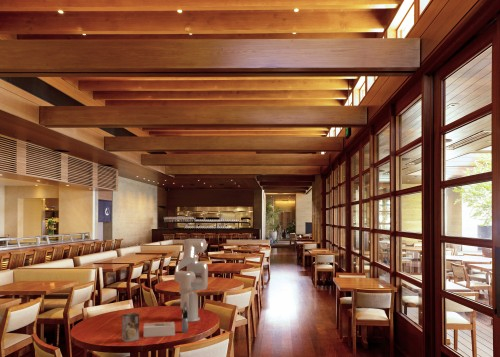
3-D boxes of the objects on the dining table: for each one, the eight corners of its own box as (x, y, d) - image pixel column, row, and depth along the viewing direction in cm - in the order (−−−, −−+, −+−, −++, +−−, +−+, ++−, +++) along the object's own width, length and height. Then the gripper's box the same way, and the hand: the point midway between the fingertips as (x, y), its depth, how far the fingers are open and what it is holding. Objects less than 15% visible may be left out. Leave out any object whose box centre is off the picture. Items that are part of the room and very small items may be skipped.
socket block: (143, 332, 320) (144, 323, 321) (174, 330, 324) (174, 321, 325) (143, 337, 309) (143, 327, 309) (174, 335, 313) (174, 326, 313)
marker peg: (181, 331, 323) (181, 313, 324) (187, 331, 324) (187, 313, 325) (182, 332, 319) (182, 314, 320) (188, 332, 320) (188, 314, 321)
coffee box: (135, 337, 308) (135, 312, 309) (139, 339, 302) (139, 314, 303) (121, 340, 302) (121, 314, 303) (125, 342, 297) (125, 316, 298)
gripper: (178, 289, 331) (178, 314, 329) (180, 293, 314) (179, 319, 313) (189, 289, 332) (189, 314, 331) (191, 292, 316) (191, 319, 314)
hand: (184, 317), depth 322 cm, fingers open, 9 cm apart
